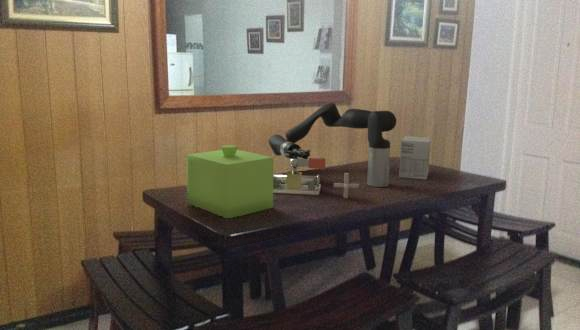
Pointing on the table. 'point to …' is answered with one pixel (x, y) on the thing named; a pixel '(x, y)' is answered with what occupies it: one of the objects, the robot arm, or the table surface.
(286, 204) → the table surface
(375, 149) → the robot arm
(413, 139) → the supplement box
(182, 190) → the table surface
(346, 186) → the pipe connector
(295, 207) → the table surface
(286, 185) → the valve fixture
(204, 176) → the canister
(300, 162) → the valve lever
